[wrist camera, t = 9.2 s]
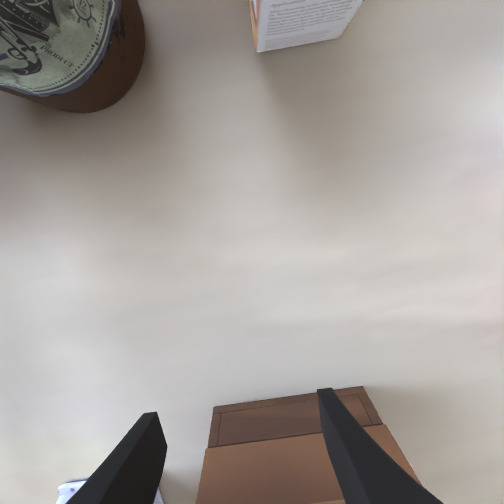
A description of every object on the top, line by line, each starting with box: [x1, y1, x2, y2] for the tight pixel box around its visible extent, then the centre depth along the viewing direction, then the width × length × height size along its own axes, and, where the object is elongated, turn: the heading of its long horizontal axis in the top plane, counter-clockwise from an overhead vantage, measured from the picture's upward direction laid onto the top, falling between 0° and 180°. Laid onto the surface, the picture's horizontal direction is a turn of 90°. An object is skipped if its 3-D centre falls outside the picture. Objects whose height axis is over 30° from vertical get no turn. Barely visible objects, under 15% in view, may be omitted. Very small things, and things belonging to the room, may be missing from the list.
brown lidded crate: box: [208, 386, 383, 448], centre depth 23 cm, size 11×14×4 cm
